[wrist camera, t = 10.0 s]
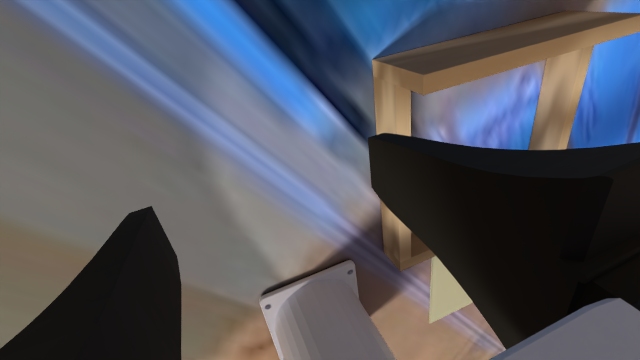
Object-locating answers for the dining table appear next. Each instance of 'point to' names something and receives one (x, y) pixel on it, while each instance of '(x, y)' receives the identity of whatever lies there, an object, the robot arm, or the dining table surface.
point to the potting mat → (444, 292)
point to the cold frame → (484, 60)
